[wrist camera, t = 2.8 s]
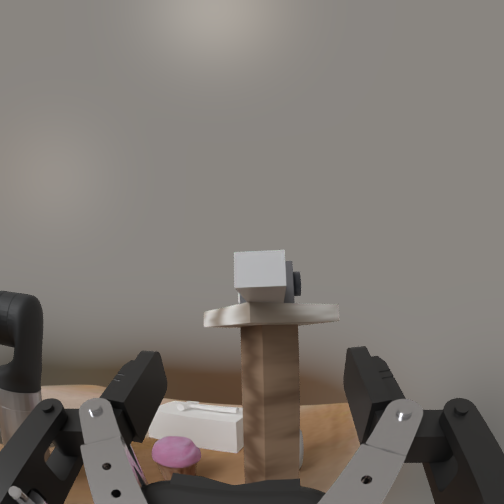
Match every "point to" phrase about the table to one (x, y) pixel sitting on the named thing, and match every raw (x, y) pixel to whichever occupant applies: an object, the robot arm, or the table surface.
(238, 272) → the grey block with knob
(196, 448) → the cupcake
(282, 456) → the stand
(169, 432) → the tissue box
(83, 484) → the table surface
